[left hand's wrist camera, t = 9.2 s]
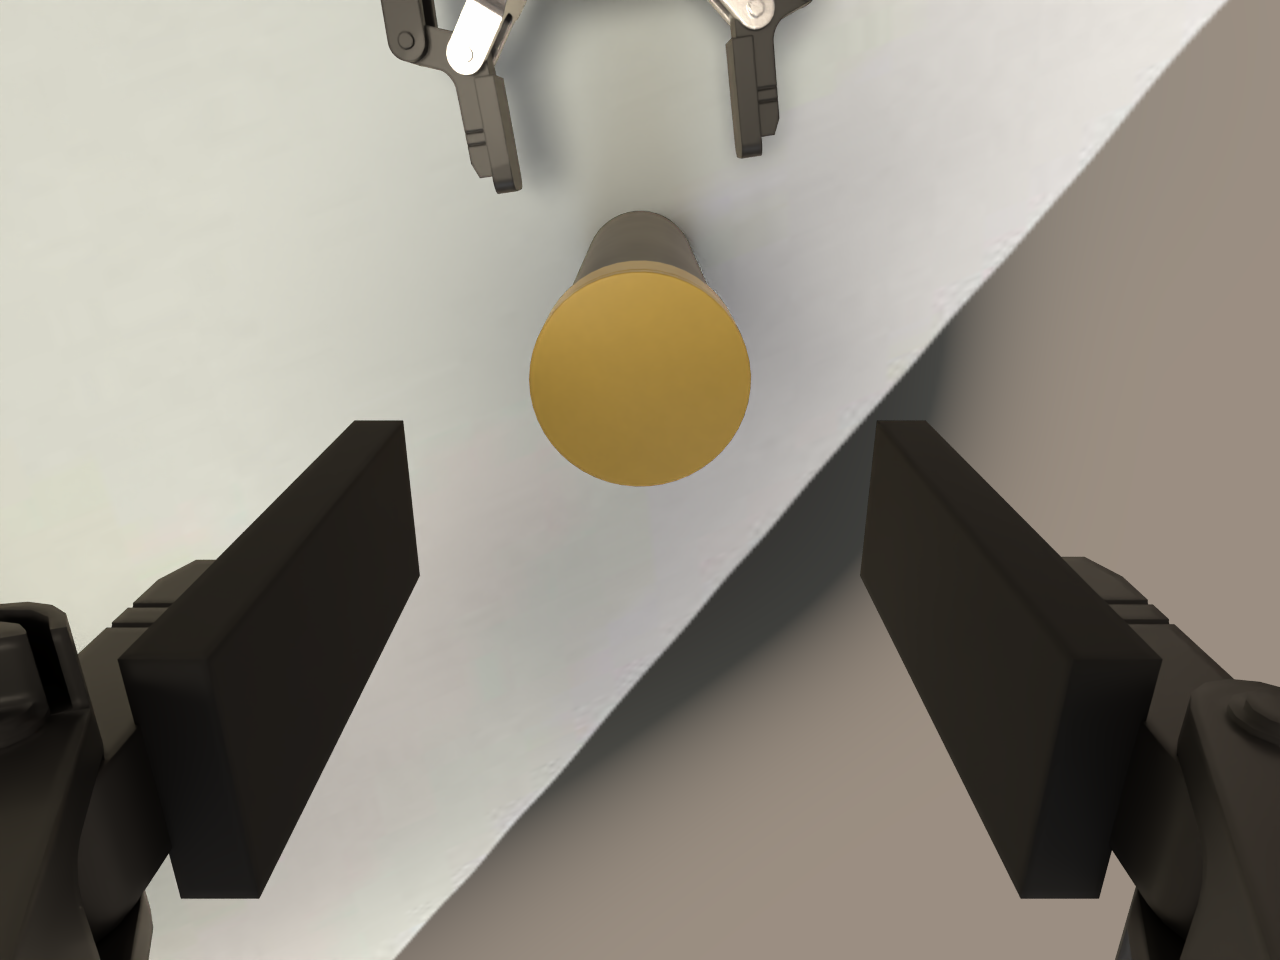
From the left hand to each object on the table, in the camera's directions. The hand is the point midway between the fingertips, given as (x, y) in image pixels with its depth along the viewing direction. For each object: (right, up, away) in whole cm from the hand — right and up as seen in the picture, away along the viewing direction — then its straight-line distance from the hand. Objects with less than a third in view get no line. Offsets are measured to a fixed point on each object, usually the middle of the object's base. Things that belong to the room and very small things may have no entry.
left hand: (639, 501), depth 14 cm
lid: (0, +3, +7) cm, 7 cm away
